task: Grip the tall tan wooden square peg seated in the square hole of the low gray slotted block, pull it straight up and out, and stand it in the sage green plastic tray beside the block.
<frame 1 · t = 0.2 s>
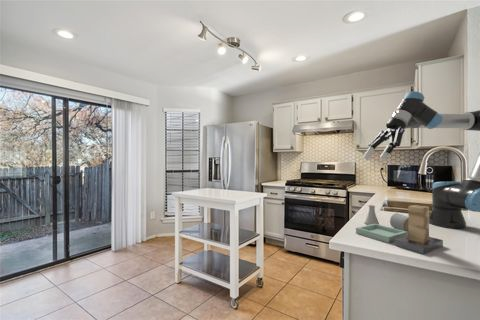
hand: (373, 158, 110), 35 cm above the counter, tool tilted 35°, fingers open, 13 cm apart
grey cylinder: (404, 230, 115), on the counter
green tray: (381, 235, 107), on the counter
flask: (371, 224, 125), on the counter
gray slotted block: (418, 245, 94), on the counter
wooden peg: (418, 226, 94), in the gray slotted block
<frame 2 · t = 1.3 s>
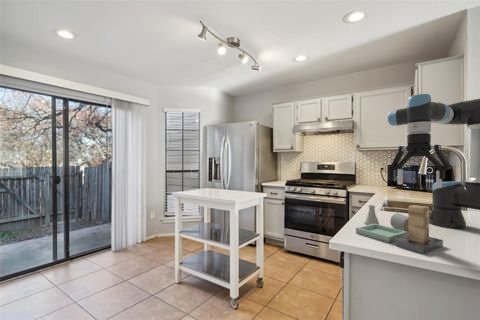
hand: (418, 186, 94), 24 cm above the counter, tool pointing down, fingers open, 13 cm apart
nothing on the counter moved.
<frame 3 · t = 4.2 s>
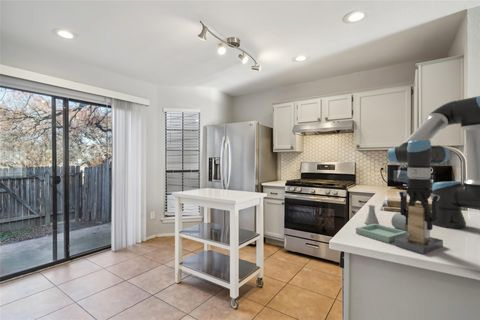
hand: (418, 235, 94), 4 cm above the counter, tool pointing down, fingers closed on wooden peg, 5 cm apart
wooden peg: (418, 226, 94), in the gray slotted block, touching gripper
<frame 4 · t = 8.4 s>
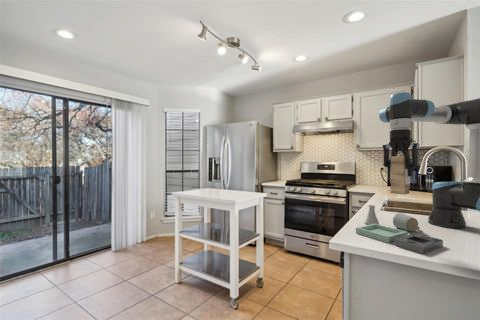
hand: (399, 183, 100), 25 cm above the counter, tool pointing down, fingers closed on wooden peg, 5 cm apart
wooden peg: (400, 174, 100), point 28 cm above the counter, touching gripper
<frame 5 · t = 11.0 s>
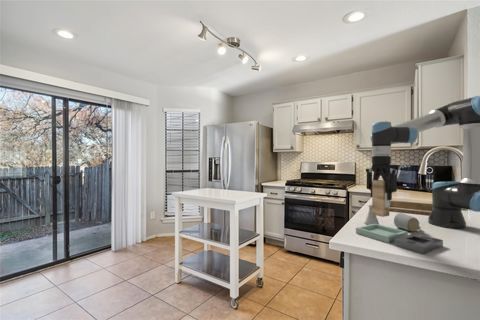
hand: (380, 205, 107), 14 cm above the counter, tool pointing down, fingers closed on wooden peg, 5 cm apart
wooden peg: (380, 197, 107), point 17 cm above the counter, touching gripper
when the fingers open (7 cm above the counter, at t = 13.1 s): wooden peg drops 1 cm, resting on green tray.
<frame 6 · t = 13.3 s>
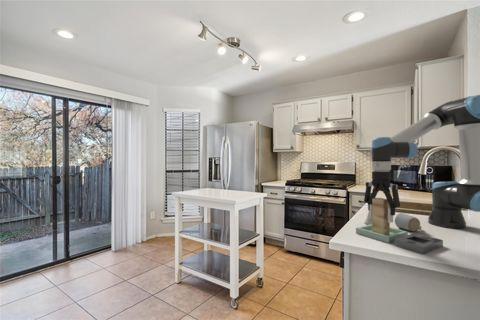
hand: (381, 220, 107), 7 cm above the counter, tool pointing down, fingers open, 8 cm apart
wooden peg: (380, 216, 107), in the green tray, point 9 cm above the counter
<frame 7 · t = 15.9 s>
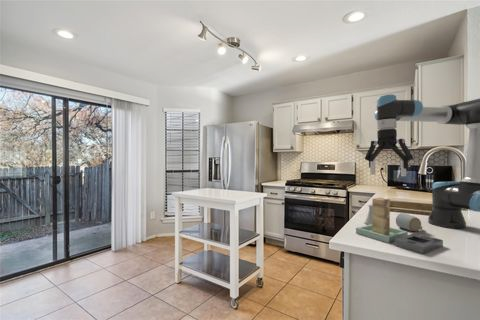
hand: (387, 175, 107), 28 cm above the counter, tool pointing down, fingers open, 13 cm apart
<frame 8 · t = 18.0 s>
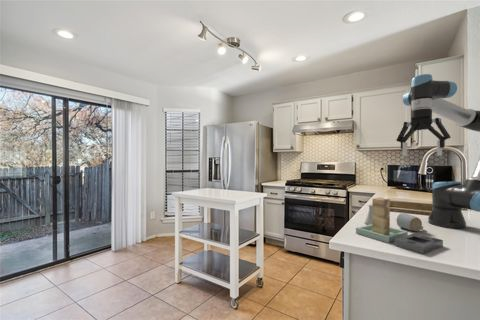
hand: (421, 155, 107), 37 cm above the counter, tool pointing down, fingers open, 13 cm apart
at the end: wooden peg inside the target area on the green tray (0.0 cm from its centre), point 8.8 cm above the green tray's base; the gripper is holding nothing; wooden peg tilted 0° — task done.
